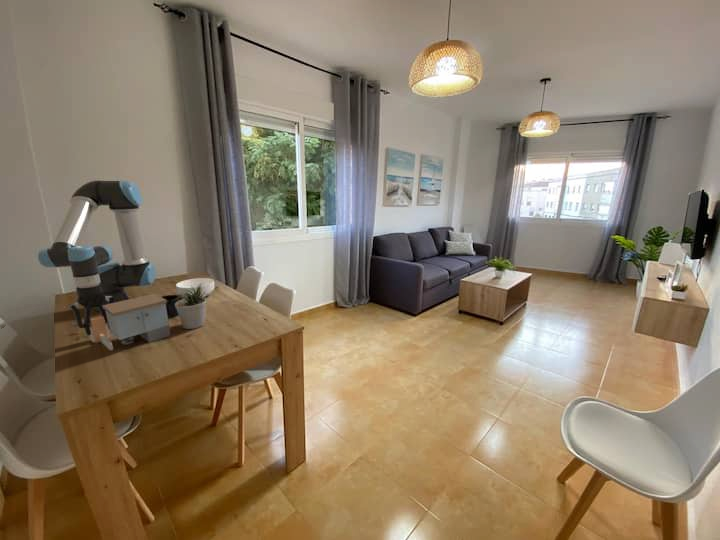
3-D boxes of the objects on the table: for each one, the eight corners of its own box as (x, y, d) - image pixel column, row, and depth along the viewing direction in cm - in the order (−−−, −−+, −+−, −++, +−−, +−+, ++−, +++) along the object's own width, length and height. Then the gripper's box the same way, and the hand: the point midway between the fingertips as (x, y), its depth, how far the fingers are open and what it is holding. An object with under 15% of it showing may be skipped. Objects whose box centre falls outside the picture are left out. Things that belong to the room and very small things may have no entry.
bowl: (222, 294, 178) (220, 281, 176) (189, 304, 162) (187, 290, 160) (203, 289, 188) (202, 276, 186) (171, 297, 172) (169, 284, 170)
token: (119, 344, 119) (118, 342, 119) (130, 339, 123) (129, 336, 123) (126, 346, 118) (126, 343, 118) (137, 340, 122) (137, 338, 122)
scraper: (93, 339, 122) (88, 317, 120) (105, 336, 126) (100, 314, 123) (105, 352, 113) (99, 328, 111) (118, 347, 116) (113, 324, 114)
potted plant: (189, 334, 128) (183, 290, 123) (172, 327, 135) (166, 285, 130) (216, 324, 138) (211, 283, 133) (199, 317, 145) (194, 278, 140)
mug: (160, 322, 140) (157, 304, 137) (158, 314, 149) (155, 297, 146) (183, 317, 145) (180, 300, 143) (179, 310, 154) (177, 293, 152)
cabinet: (110, 342, 120) (102, 305, 116) (160, 327, 134) (154, 293, 130) (121, 353, 112) (113, 313, 108) (173, 335, 127) (167, 300, 122)
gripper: (60, 292, 108) (75, 350, 114) (118, 282, 121) (128, 334, 127) (56, 288, 112) (70, 344, 118) (112, 278, 126) (122, 329, 132)
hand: (100, 338), depth 123 cm, fingers closed on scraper, 4 cm apart
